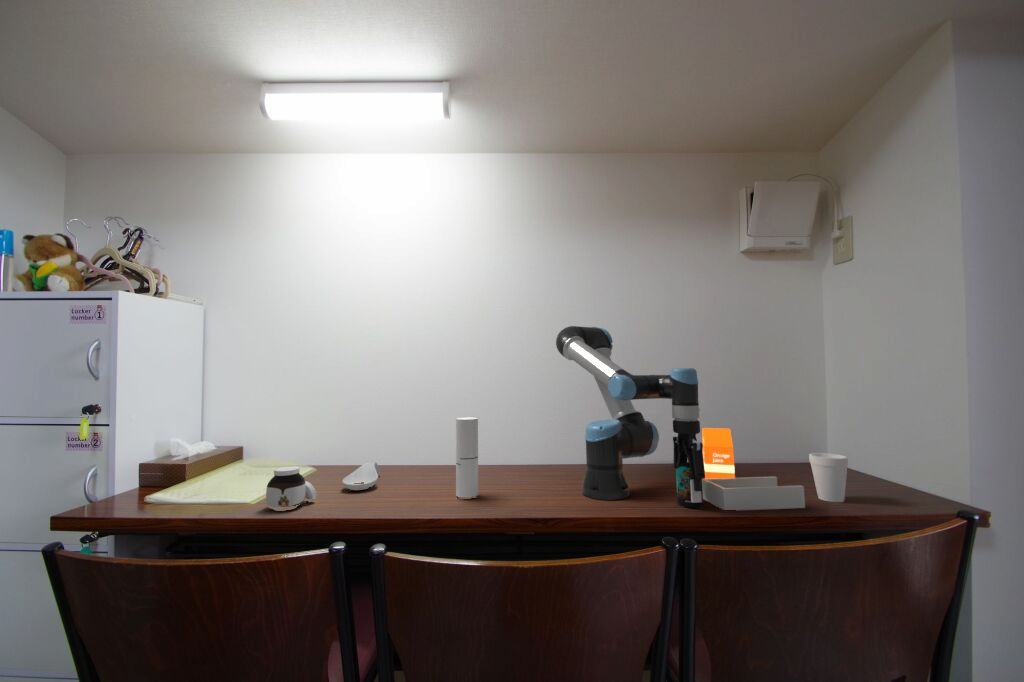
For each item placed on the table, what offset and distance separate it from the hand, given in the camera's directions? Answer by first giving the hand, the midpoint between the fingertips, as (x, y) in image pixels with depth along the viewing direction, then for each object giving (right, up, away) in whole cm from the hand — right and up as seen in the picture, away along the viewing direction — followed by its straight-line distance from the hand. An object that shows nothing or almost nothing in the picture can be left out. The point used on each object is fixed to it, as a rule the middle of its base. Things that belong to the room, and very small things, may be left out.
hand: (689, 498), depth 123 cm
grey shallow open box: (+19, -2, +1) cm, 19 cm away
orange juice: (+18, -4, +18) cm, 26 cm away
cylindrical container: (-67, -4, +12) cm, 68 cm away
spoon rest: (-106, -6, +29) cm, 110 cm away
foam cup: (+45, -2, +4) cm, 45 cm away
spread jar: (-120, -4, +4) cm, 120 cm away
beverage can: (0, -2, 0) cm, 2 cm away
